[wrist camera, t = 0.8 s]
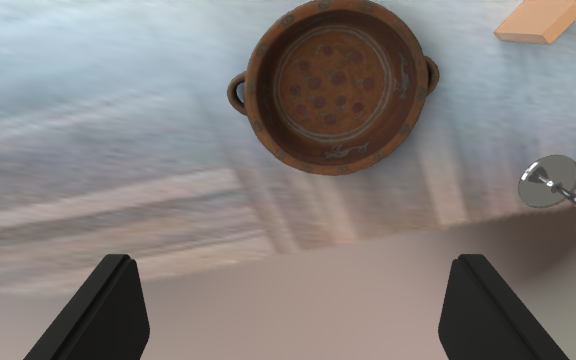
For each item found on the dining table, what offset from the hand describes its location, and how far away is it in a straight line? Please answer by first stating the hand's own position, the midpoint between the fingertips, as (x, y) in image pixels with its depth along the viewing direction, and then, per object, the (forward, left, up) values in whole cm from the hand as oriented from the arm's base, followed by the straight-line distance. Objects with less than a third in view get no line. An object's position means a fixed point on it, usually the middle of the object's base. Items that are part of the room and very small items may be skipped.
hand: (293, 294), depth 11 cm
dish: (+3, +3, -33) cm, 33 cm away
